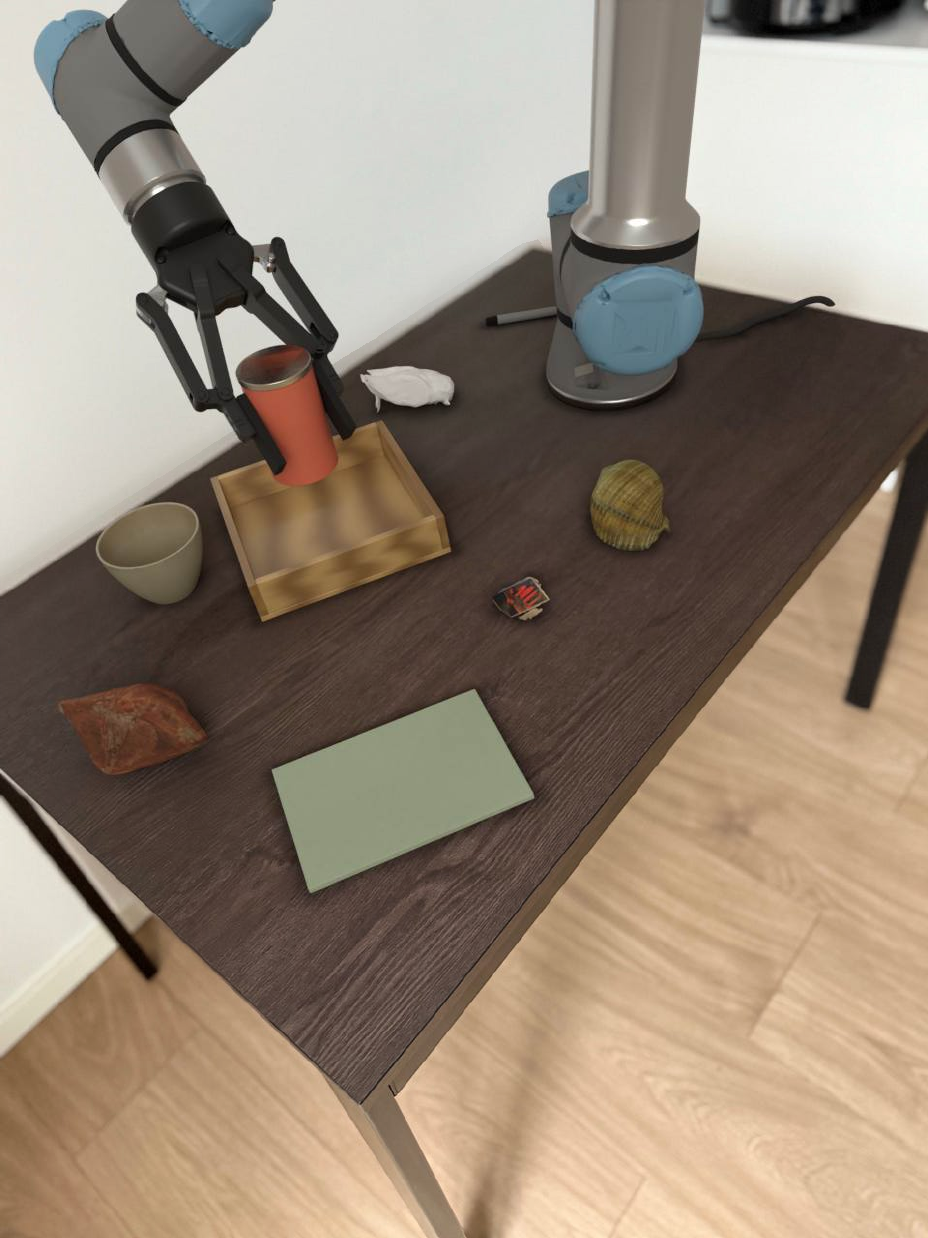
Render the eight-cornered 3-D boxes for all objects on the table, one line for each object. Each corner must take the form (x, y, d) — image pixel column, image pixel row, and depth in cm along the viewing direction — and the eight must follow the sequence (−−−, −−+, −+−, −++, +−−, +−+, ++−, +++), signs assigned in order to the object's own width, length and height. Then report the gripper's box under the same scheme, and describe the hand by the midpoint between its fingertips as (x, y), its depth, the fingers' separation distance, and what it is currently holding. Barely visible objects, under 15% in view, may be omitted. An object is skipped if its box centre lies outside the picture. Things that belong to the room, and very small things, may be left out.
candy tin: (329, 437, 86) (300, 336, 79) (347, 472, 82) (319, 369, 75) (263, 458, 85) (228, 359, 78) (279, 495, 81) (243, 393, 74)
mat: (475, 692, 81) (474, 688, 80) (534, 798, 72) (533, 794, 72) (273, 773, 78) (271, 769, 77) (310, 894, 69) (308, 889, 69)
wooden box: (390, 454, 108) (381, 419, 105) (451, 551, 94) (444, 515, 91) (223, 511, 105) (209, 478, 101) (262, 622, 91) (247, 587, 88)
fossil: (231, 733, 77) (122, 676, 71) (174, 823, 76) (59, 773, 70) (189, 690, 87) (92, 638, 82) (138, 769, 86) (36, 722, 81)
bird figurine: (380, 432, 114) (457, 404, 111) (355, 380, 110) (435, 350, 108) (386, 416, 118) (460, 389, 115) (362, 366, 114) (439, 336, 112)
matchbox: (487, 602, 88) (486, 599, 88) (527, 574, 90) (527, 570, 90) (521, 627, 85) (520, 623, 85) (562, 597, 87) (561, 593, 87)
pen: (486, 324, 126) (484, 314, 125) (610, 303, 125) (609, 294, 124) (486, 328, 125) (485, 319, 124) (611, 308, 124) (611, 299, 123)
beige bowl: (199, 624, 92) (172, 569, 87) (108, 620, 94) (77, 567, 89) (236, 556, 99) (213, 501, 94) (150, 553, 101) (123, 500, 96)
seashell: (659, 569, 94) (705, 501, 91) (624, 567, 89) (673, 494, 85) (591, 513, 99) (633, 447, 96) (554, 508, 93) (597, 438, 90)
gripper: (265, 192, 85) (399, 417, 86) (63, 271, 78) (211, 514, 79) (275, 140, 78) (421, 387, 79) (55, 223, 71) (217, 491, 72)
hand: (315, 450), depth 79 cm, fingers closed on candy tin, 6 cm apart
